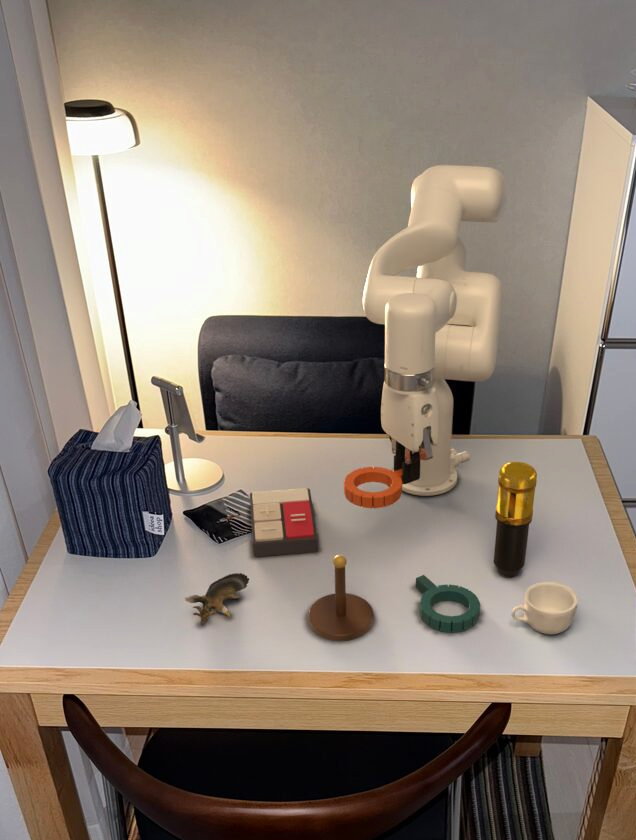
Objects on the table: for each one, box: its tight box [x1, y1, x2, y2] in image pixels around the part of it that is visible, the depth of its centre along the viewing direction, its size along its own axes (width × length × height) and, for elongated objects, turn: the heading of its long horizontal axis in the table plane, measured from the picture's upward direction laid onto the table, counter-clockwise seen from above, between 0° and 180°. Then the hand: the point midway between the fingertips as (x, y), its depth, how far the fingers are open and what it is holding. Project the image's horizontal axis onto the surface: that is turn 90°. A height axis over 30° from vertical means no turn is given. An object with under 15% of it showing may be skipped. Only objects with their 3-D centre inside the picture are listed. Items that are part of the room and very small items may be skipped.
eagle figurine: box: [184, 572, 250, 626], centre depth 141 cm, size 8×7×9 cm
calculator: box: [249, 487, 319, 558], centre depth 160 cm, size 11×4×15 cm
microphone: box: [493, 461, 538, 578], centre depth 146 cm, size 6×13×20 cm, turn 108°
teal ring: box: [415, 574, 481, 634], centre depth 143 cm, size 13×9×2 cm
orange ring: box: [343, 466, 404, 509], centre depth 146 cm, size 13×9×2 cm
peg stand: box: [308, 554, 374, 642], centre depth 138 cm, size 10×10×12 cm
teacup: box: [510, 581, 579, 635], centre depth 138 cm, size 10×8×5 cm
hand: (406, 477), depth 148 cm, fingers closed on orange ring, 1 cm apart
